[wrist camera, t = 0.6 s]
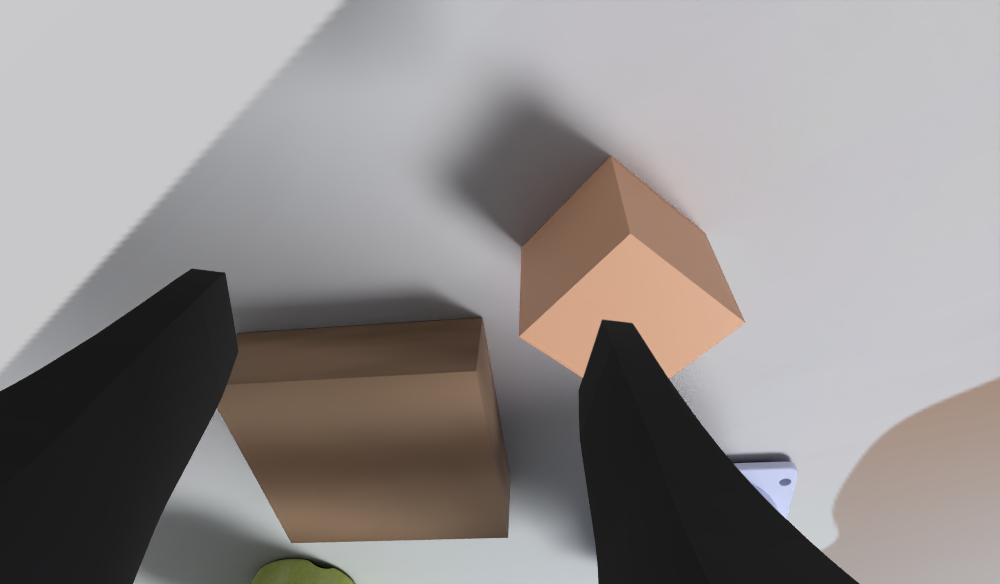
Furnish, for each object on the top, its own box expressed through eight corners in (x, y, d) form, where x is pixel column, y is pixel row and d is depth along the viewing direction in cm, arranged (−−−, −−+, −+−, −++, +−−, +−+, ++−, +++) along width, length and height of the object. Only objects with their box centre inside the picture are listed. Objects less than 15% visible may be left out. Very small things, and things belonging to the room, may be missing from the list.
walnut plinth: (510, 480, 30) (507, 537, 27) (310, 487, 31) (291, 542, 28) (482, 317, 24) (476, 371, 21) (237, 333, 25) (205, 386, 22)
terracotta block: (704, 232, 21) (745, 322, 17) (613, 311, 23) (629, 407, 19) (610, 154, 20) (630, 233, 16) (521, 246, 22) (518, 336, 18)
